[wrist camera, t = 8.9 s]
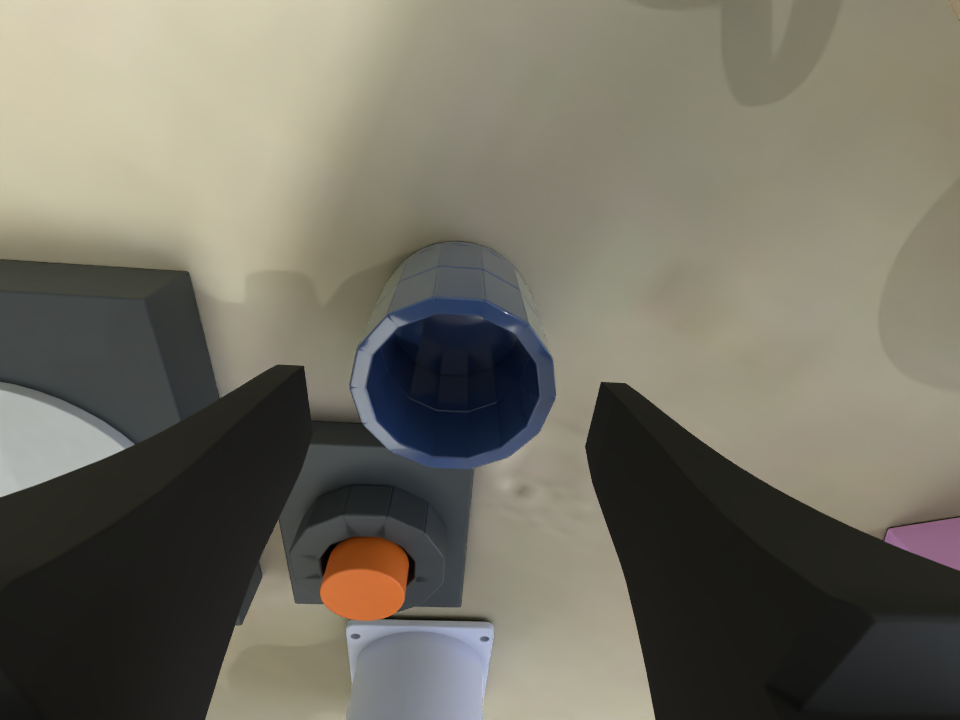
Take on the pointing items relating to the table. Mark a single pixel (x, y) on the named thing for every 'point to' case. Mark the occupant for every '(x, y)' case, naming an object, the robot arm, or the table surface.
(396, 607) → the button
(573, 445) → the table surface
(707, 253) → the table surface
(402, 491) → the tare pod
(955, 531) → the teapot
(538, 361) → the blue cup
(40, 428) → the scale
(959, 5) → the teacup with lid
